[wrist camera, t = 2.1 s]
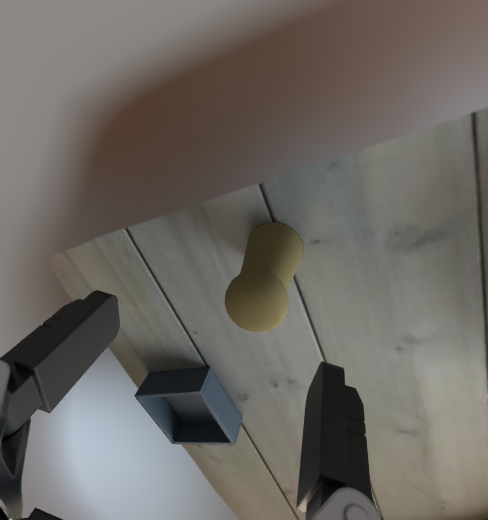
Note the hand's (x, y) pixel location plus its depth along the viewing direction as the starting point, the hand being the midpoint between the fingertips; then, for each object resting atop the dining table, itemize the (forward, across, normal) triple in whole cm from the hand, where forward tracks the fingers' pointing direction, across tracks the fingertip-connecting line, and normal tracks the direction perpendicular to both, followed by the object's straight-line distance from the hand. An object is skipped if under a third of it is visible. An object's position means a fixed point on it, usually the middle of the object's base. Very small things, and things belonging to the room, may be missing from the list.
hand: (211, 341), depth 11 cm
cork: (+21, 0, +7) cm, 22 cm away
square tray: (+21, +6, +38) cm, 43 cm away
